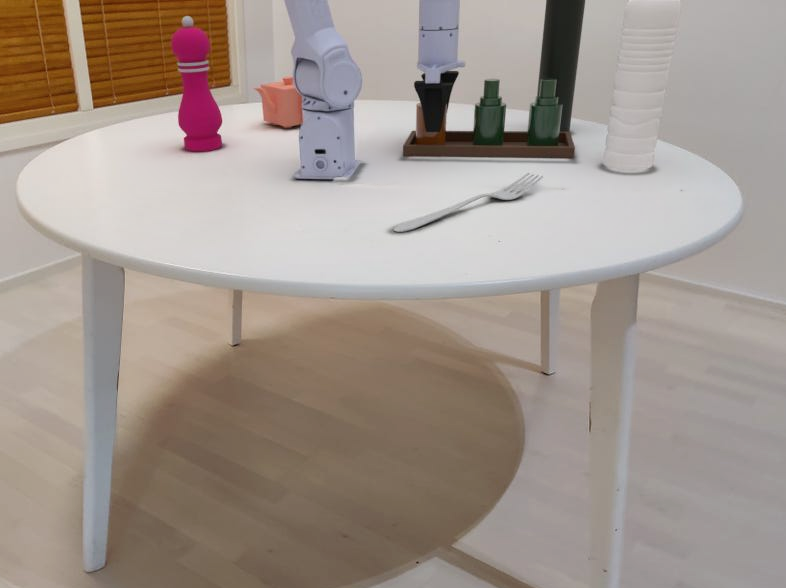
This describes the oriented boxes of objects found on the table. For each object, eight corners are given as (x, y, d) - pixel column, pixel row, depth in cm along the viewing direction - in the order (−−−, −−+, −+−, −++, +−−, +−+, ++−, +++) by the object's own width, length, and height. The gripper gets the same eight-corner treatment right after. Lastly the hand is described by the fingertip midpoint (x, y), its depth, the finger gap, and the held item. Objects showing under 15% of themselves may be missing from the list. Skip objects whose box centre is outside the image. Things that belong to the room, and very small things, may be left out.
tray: (573, 162, 101) (574, 147, 100) (403, 159, 107) (403, 145, 106) (568, 145, 110) (570, 131, 109) (411, 143, 116) (412, 130, 114)
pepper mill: (229, 142, 122) (215, 13, 112) (219, 152, 116) (203, 16, 106) (188, 142, 123) (171, 15, 113) (176, 152, 116) (156, 18, 107)
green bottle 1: (502, 152, 106) (508, 82, 101) (471, 151, 107) (475, 82, 102) (503, 145, 110) (508, 77, 105) (473, 144, 111) (476, 77, 106)
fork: (385, 228, 80) (385, 213, 79) (524, 185, 92) (526, 171, 92) (405, 235, 78) (405, 219, 77) (545, 190, 90) (546, 176, 89)
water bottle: (631, 176, 94) (668, -39, 82) (591, 167, 99) (620, -38, 86) (671, 165, 98) (712, -42, 86) (631, 156, 103) (664, -41, 90)
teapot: (241, 125, 134) (236, 78, 130) (307, 114, 141) (305, 69, 137) (272, 135, 125) (268, 85, 121) (341, 122, 132) (340, 75, 128)
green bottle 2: (558, 152, 104) (566, 81, 99) (526, 152, 105) (532, 81, 100) (556, 145, 108) (564, 76, 103) (525, 145, 109) (531, 77, 104)
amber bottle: (443, 151, 108) (445, 82, 103) (413, 150, 109) (414, 82, 104) (447, 144, 111) (449, 77, 106) (418, 144, 113) (419, 77, 108)
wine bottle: (564, 128, 121) (588, -78, 106) (573, 136, 116) (600, -80, 101) (530, 129, 121) (549, -76, 106) (537, 137, 116) (559, -78, 101)
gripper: (463, 33, 95) (458, 136, 101) (469, 23, 107) (465, 116, 114) (411, 34, 96) (409, 136, 103) (423, 24, 108) (421, 116, 115)
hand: (435, 126), depth 108 cm, fingers open, 7 cm apart
